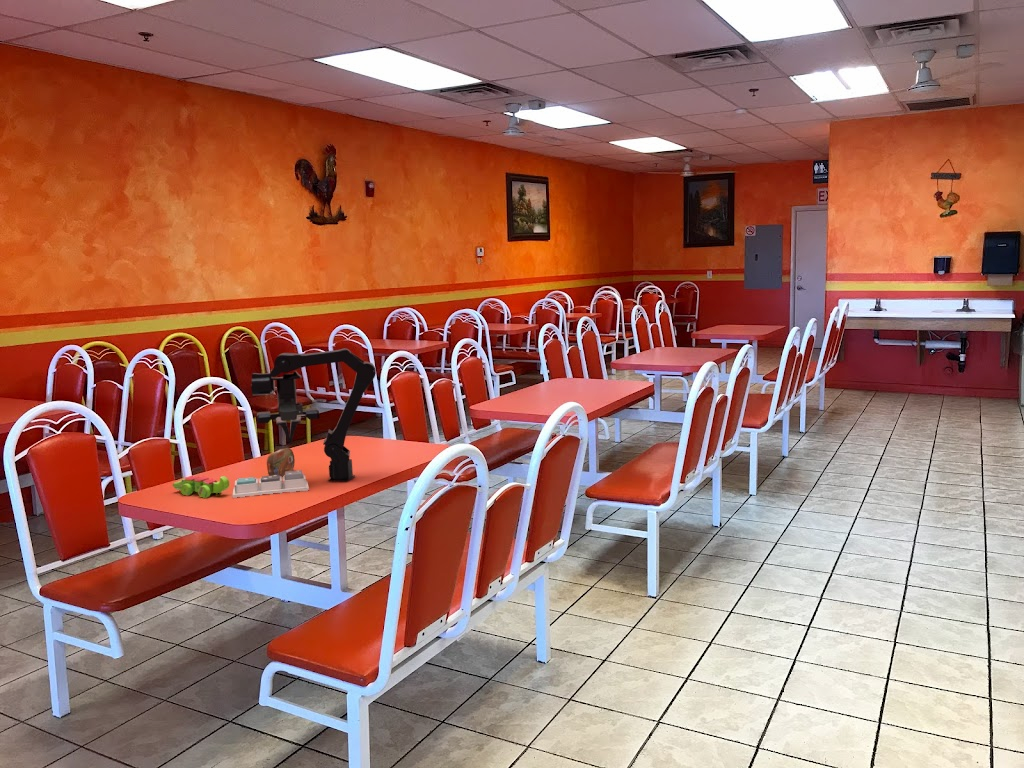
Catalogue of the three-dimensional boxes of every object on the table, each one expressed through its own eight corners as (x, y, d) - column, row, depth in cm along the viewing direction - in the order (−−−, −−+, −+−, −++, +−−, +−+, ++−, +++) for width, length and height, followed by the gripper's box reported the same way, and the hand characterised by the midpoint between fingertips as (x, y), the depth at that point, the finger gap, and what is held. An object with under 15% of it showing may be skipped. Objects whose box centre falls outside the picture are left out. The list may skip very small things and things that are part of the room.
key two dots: (302, 477, 261) (301, 469, 260) (302, 481, 256) (302, 473, 256) (285, 479, 259) (285, 471, 259) (286, 483, 255) (285, 474, 254)
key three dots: (279, 482, 259) (278, 474, 259) (279, 486, 254) (278, 477, 254) (262, 484, 258) (261, 475, 257) (262, 488, 253) (261, 479, 252)
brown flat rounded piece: (275, 481, 268) (273, 455, 267) (266, 481, 269) (264, 455, 268) (296, 470, 283) (294, 445, 282) (287, 469, 284) (285, 445, 283)
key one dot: (255, 484, 257) (254, 476, 257) (255, 488, 252) (254, 480, 252) (238, 486, 256) (237, 478, 255) (237, 490, 251) (237, 481, 251)
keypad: (307, 483, 263) (306, 472, 263) (308, 490, 255) (308, 479, 254) (233, 490, 257) (233, 479, 257) (232, 498, 249) (232, 486, 248)
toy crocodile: (169, 494, 256) (167, 475, 256) (186, 489, 262) (185, 470, 262) (217, 500, 248) (215, 480, 247) (233, 494, 254) (232, 475, 253)
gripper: (255, 399, 251) (259, 450, 253) (318, 394, 256) (322, 444, 258) (255, 394, 262) (259, 443, 264) (316, 390, 267) (319, 438, 269)
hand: (290, 442), depth 263 cm, fingers closed
